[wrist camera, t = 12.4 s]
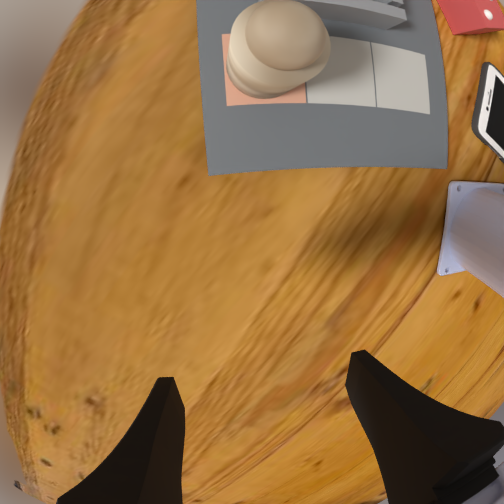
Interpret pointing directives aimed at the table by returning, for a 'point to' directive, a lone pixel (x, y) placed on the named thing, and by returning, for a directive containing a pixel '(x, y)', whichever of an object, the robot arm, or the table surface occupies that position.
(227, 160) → the game board
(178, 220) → the table surface
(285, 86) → the pawn
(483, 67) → the cell phone
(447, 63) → the table surface
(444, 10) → the red die
